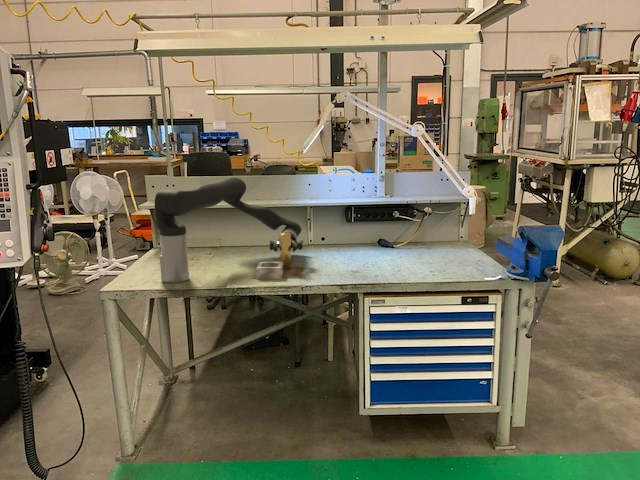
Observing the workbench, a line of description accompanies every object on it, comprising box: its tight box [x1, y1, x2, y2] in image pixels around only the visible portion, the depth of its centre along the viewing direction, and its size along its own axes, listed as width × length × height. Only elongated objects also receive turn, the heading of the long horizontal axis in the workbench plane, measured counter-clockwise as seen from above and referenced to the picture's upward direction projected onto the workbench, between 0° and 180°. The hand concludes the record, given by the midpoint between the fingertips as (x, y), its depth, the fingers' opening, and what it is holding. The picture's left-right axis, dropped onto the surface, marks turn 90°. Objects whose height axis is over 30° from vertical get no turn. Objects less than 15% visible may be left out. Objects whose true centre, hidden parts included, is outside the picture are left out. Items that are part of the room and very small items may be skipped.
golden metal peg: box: [278, 232, 292, 270], centre depth 185 cm, size 4×4×14 cm
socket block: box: [249, 261, 305, 280], centre depth 181 cm, size 19×16×5 cm
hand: (284, 249), depth 182 cm, fingers open, 6 cm apart
